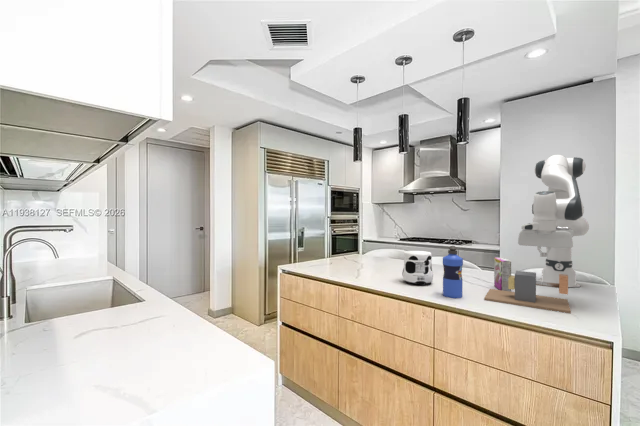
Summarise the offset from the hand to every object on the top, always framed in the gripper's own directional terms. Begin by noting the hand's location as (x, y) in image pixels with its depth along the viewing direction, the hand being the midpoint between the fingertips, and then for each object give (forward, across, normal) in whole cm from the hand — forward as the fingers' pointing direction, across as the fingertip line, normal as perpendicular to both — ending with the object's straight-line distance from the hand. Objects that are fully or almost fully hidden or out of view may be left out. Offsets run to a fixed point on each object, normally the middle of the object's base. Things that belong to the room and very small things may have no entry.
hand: (544, 256), depth 139 cm
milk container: (+22, +60, -5) cm, 64 cm away
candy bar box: (+22, +18, -17) cm, 33 cm away
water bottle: (+22, +37, +11) cm, 44 cm away
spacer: (+16, +12, 0) cm, 21 cm away
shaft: (+16, +4, 0) cm, 16 cm away
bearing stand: (+22, +7, 0) cm, 23 cm away
